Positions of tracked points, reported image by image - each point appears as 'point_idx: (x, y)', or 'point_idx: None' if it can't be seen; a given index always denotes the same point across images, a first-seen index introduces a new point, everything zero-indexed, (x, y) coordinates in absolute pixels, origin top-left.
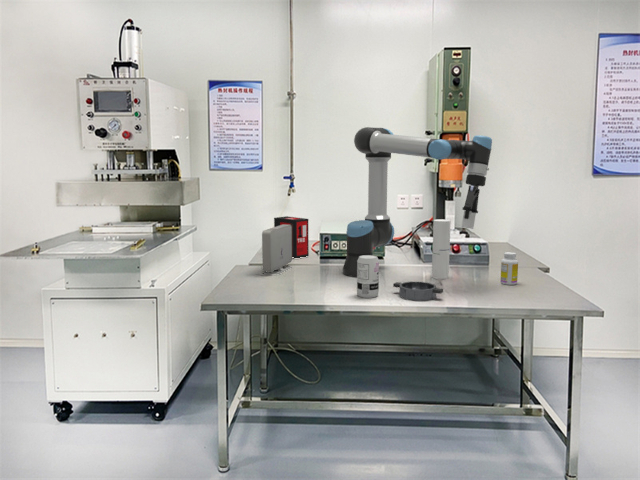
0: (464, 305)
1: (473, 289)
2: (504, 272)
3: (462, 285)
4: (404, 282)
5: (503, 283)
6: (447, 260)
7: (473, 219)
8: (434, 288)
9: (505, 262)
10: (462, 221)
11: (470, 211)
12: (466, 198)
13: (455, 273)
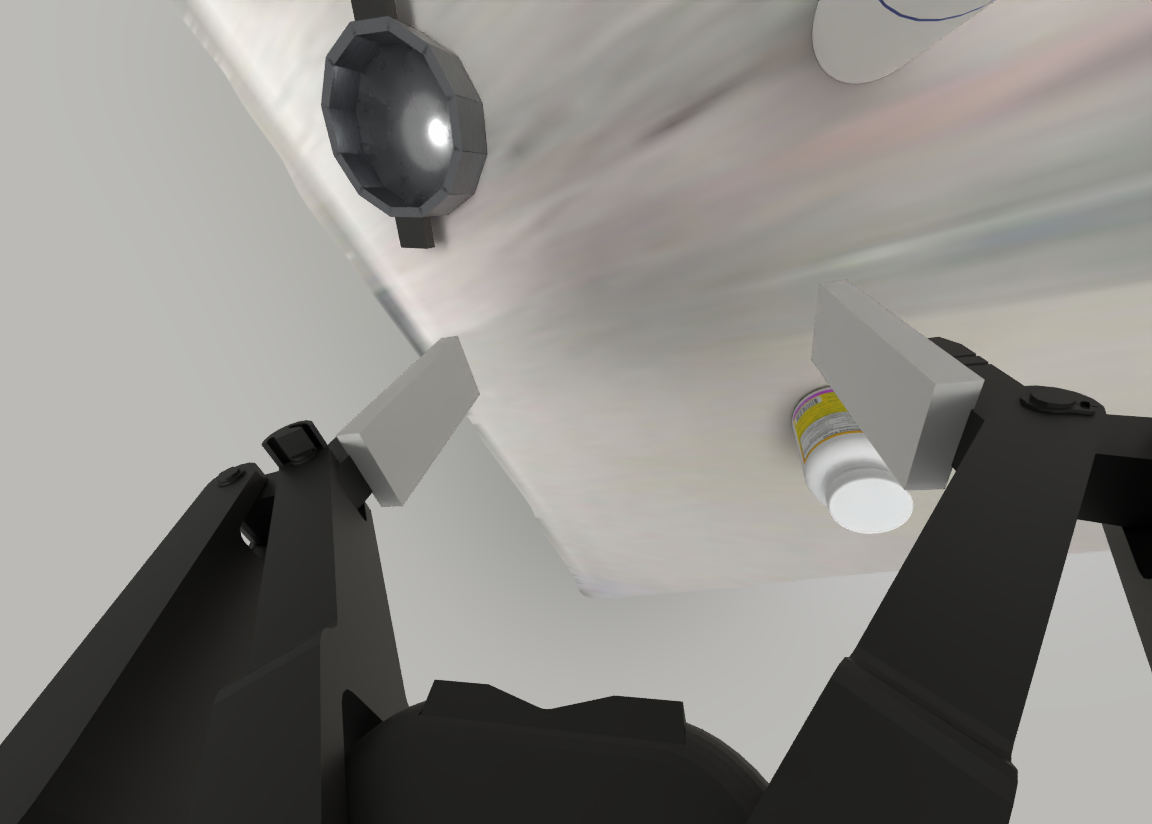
0: (433, 331)
1: (644, 305)
2: (804, 428)
3: (698, 238)
4: (391, 21)
5: (801, 401)
6: (877, 49)
7: (857, 407)
8: (404, 216)
9: (811, 458)
10: (416, 363)
11: (377, 497)
12: (124, 597)
13: (1091, 50)
